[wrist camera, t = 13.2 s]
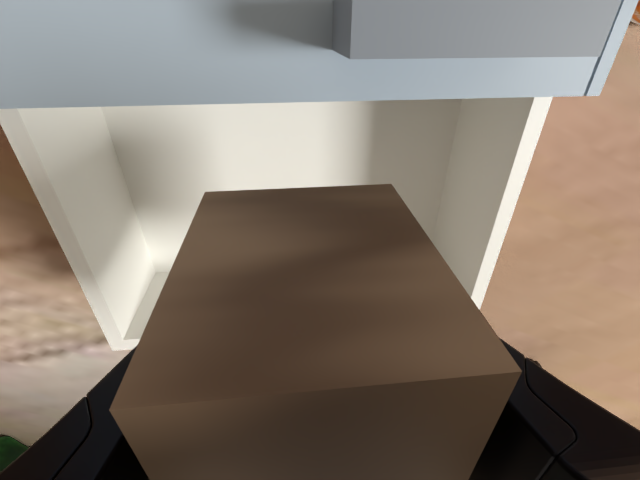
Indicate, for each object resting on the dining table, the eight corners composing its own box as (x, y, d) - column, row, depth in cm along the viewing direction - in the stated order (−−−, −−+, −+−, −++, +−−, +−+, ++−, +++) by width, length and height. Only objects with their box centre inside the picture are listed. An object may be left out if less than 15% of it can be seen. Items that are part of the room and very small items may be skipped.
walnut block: (391, 183, 9) (522, 371, 4) (375, 315, 12) (445, 526, 7) (205, 191, 9) (109, 410, 4) (231, 326, 12) (195, 558, 7)
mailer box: (434, 258, 20) (475, 321, 16) (149, 276, 19) (112, 350, 14) (495, -21, 13) (600, -42, 9) (46, -25, 12) (-87, -52, 7)
